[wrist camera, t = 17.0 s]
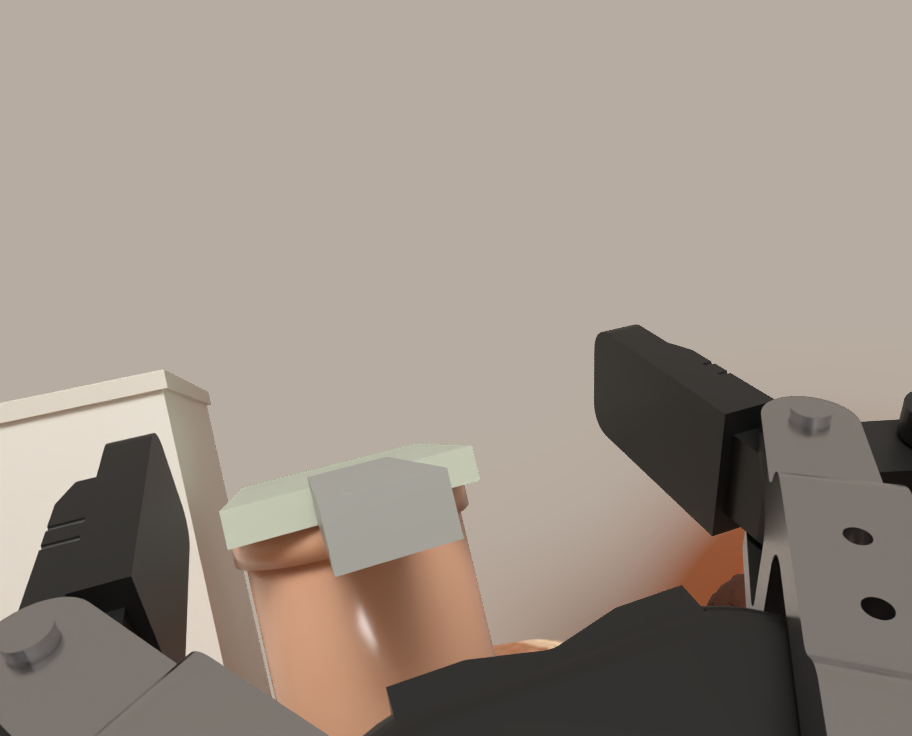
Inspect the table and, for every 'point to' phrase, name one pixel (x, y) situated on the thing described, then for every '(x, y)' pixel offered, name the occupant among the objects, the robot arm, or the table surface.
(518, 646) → the table surface
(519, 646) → the table surface
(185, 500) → the upright grey panel box
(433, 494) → the cover
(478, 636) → the terracotta pot
